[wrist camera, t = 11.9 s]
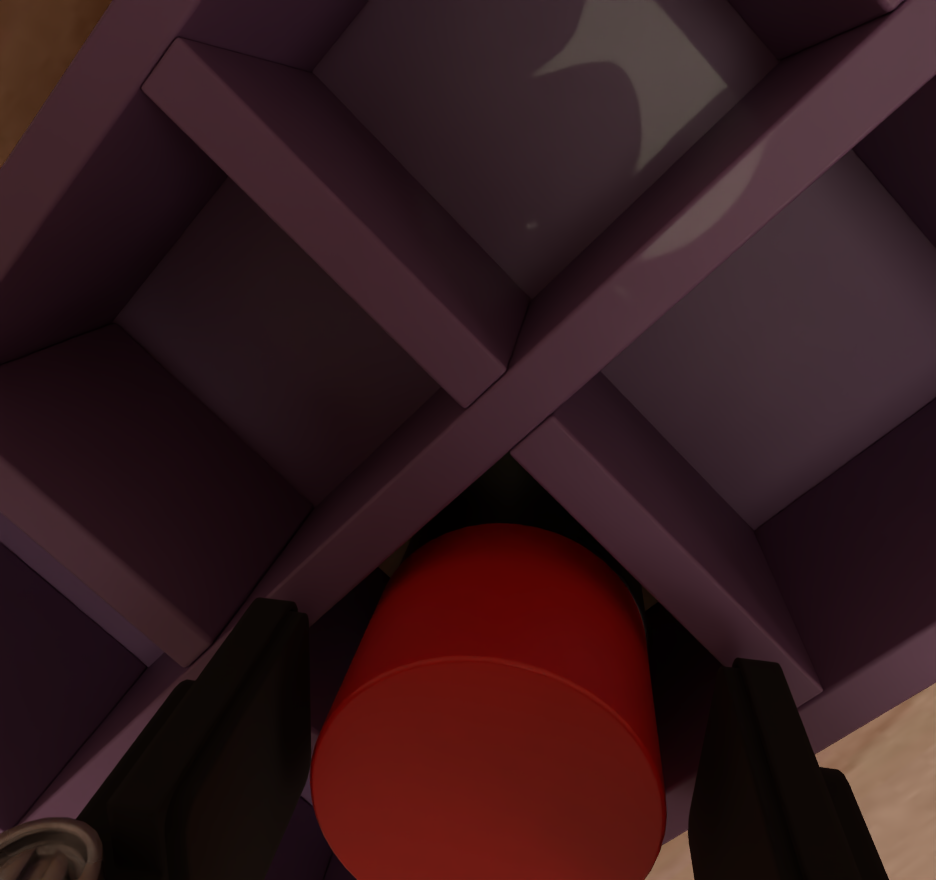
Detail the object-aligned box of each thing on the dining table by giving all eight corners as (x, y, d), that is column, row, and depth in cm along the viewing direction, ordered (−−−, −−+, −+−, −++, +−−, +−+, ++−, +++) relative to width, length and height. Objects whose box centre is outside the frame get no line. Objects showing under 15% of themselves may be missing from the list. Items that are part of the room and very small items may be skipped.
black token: (423, 433, 16) (381, 509, 12) (649, 456, 15) (667, 541, 12) (416, 624, 17) (377, 735, 14) (621, 649, 17) (630, 771, 13)
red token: (378, 506, 12) (304, 635, 9) (663, 537, 12) (694, 684, 9) (374, 733, 14) (310, 911, 11) (626, 768, 13) (641, 966, 10)
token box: (-62, 496, 19) (-310, 631, 14) (546, -291, 12) (520, -619, 7) (351, 844, 21) (274, 1078, 16) (1064, 334, 14) (1343, 443, 9)
